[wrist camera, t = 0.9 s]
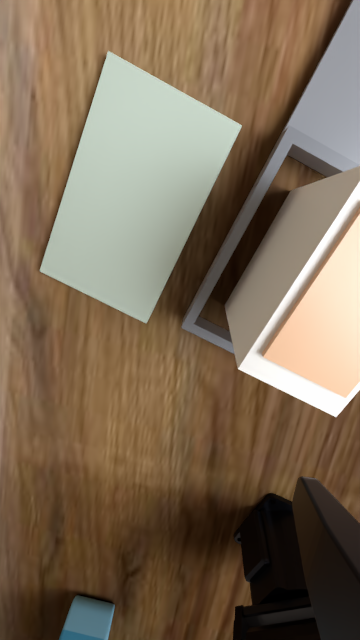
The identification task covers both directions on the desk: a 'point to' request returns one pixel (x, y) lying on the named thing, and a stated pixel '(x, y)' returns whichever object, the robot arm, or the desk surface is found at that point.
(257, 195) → the grey holder tray
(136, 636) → the desk surface
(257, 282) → the module
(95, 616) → the data package
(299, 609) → the robot arm
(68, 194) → the sage mat
